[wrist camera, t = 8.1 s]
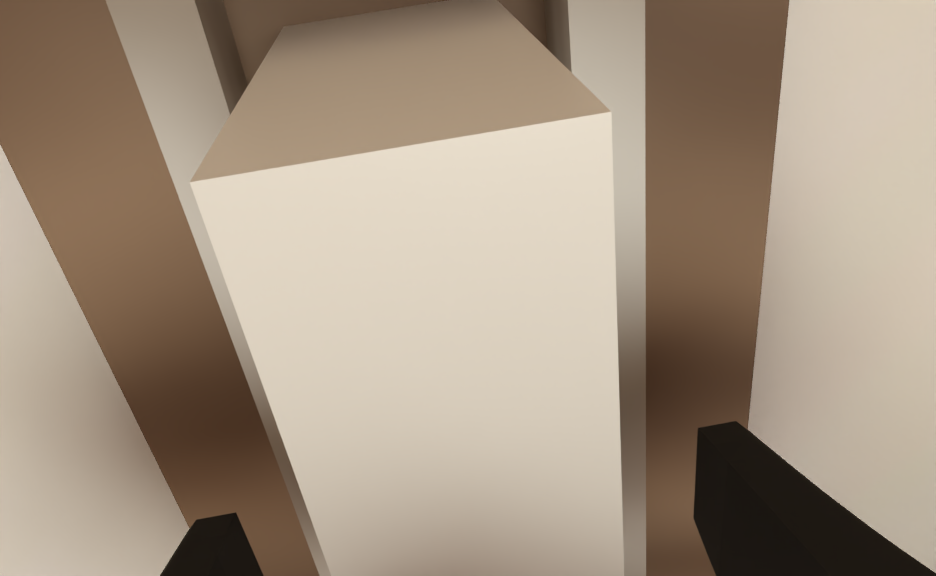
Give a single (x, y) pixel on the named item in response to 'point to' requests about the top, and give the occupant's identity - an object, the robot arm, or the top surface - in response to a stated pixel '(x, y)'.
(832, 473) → the top surface
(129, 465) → the top surface
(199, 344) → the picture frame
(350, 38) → the cream rectangular block
